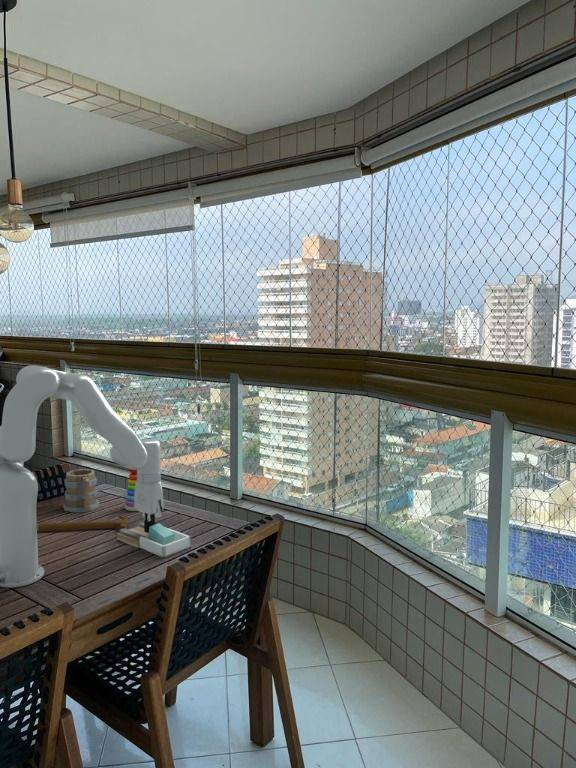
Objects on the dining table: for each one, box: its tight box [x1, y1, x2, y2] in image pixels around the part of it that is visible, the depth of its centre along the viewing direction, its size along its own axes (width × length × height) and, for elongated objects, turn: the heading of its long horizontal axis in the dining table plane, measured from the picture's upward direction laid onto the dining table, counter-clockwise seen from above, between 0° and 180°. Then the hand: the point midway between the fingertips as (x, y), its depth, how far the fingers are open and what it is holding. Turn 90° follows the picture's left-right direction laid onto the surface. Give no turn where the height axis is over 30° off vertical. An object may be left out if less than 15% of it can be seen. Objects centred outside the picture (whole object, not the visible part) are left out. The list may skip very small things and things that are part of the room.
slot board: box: [116, 521, 151, 548], centre depth 184 cm, size 12×11×3 cm
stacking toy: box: [124, 468, 139, 512], centre depth 213 cm, size 8×8×19 cm
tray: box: [139, 527, 192, 559], centre depth 177 cm, size 11×12×4 cm
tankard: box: [62, 468, 100, 514], centre depth 211 cm, size 20×13×15 cm, turn 28°
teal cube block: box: [148, 523, 167, 542], centre depth 180 cm, size 4×4×4 cm
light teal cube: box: [155, 527, 174, 545], centre depth 177 cm, size 4×4×4 cm
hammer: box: [37, 515, 130, 533], centre depth 193 cm, size 12×3×30 cm
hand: (149, 531), depth 181 cm, fingers closed
